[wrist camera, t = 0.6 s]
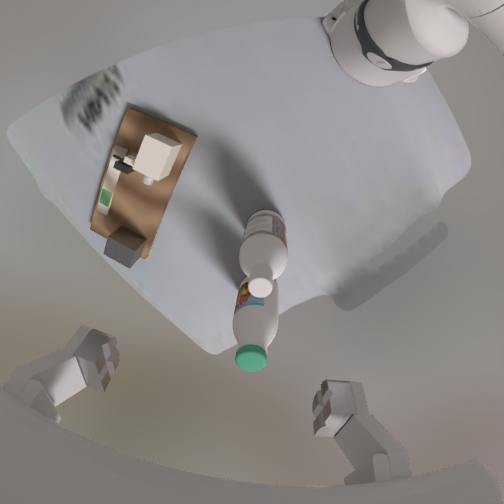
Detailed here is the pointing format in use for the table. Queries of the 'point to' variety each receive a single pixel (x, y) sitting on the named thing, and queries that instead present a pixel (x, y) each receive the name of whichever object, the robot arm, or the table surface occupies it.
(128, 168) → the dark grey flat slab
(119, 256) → the dark grey cube
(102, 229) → the wooden tray
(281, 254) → the bath foam
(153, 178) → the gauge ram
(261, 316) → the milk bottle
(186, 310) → the table surface
